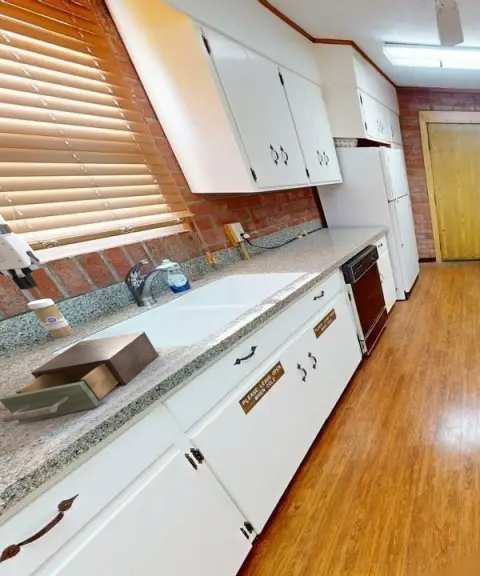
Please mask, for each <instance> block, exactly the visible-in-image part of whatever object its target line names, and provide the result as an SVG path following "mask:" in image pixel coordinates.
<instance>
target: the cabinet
mask: <svg viewBox="0 0 480 576" xmlns="http://www.w3.org/2000/svg"><path fill="white" fill-rule="evenodd" d="M158 358H159V353H158V352H157V350H156V348H155V346H154V345H153V344H152V342H151V340H150V339H149V336H148V335H147V333H146V332H145V331H140V332H134V333H127V334H121V335H120V334H119V335H115V336H114V335H113V336H107V337H101V338H100V337H99V338H95V339H94V338H93V339H88V340H81V341H79V342H77V343H75V344H74V345H72V346H70V347H69V348H67V349H66V350H64V351H63V352H61V353H59V354H58V355H56V356H54V357H53V358H51V359H50V360H48V361H47V362H45V363H44V364H42V365H41V366H39V367H37V368H35V369H34V370H32V371H31V372H30V374H31V375H32V376H33V377H34V378H35V379H36V378H38V377H39V376H41V375H42V374H44V373H48V372H54V371H59V370H65V369H71V368H76V367H82V366H88V365H93V364H99V363H105V362H107V364H108V365H109V367H110V368H111V369H112V371H113V372H114V374H115V375H116V377H117V378H118V380H119V381H120V382H119V383H118V384H117V385H116V386H115V387H114V388H119V387H123V386H127V385H128V384H129V383H130V382H131V381H133V380H134V379H135V378H136V377H137V376H138V375H139V374H140V373H141V372H143V371H144V370H145V369H146V368H148V366H149V365H150V364H152V363H153V362H154V361H155V360H156V359H158Z"/></svg>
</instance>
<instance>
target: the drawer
mask: <svg viewBox="0 0 480 576" xmlns="http://www.w3.org/2000/svg"><path fill="white" fill-rule="evenodd" d="M119 382H120V381H119V380H118V378H117V377H116V375H115V374H114V372H113V371H112V369H111V368H110V367H109V365H108V364H107V362H105V363H99V364H93V365H88V366H82V367H76V368H71V369H65V370H59V371H54V372H48V373H44V374H42V375H41V376H39V377H38V378H35V379H33V380H31V381H30V382H28V383H27V384H26V385H24V386H23V387H21V388H19V389H18V390H16V391H15V393H14V394H8V395H4V396H2V397H1V398H0V403H1V405H3V406H4V407H5V408H6V410H8V411H9V412H10V414H6V415H4V416H3V417H2V418H1V421H2V422H3V423H10V422H15V421H18V422H19V423H20V424H24V423H28V422H32V421H33V422H34V421H37V420H43V419H47V418H51V417H56V416H60V415H65V414H70V413H74V412H80V411H85V410H88V409H94V408H98V407H99V405H101V402H100V400H102V399H103V398H104V397H105V396H106V395H107V394H109V392H110V391H111V390H113V389H114V388H116V387H115V386H116V385H117V384H118V383H119Z"/></svg>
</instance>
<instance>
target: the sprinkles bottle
mask: <svg viewBox="0 0 480 576" xmlns="http://www.w3.org/2000/svg"><path fill="white" fill-rule="evenodd" d="M27 306H28V308H29V310H31V311H33V313H34V314H35V315H36V317H37V318H38V319H39V320H40V322H41V323H42V325H43V327H45V328H46V330H47V331H48V332H49V333H50V334H51V336H52V339H58V338H63V337H67V336H70V335H73V334H75V331H76V330H74V329H73V328H72V326H71V325H70V323H69V322H68V320H67V319H66V317H64V315H63V314H62V313H61V311H60V310H59V309H58V307H57V306H56V304H55V302H54V300H53V299H52V298H43V299H38V300H37V299H36V300H33V301H30V302H28V303H27Z"/></svg>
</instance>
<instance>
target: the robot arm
mask: <svg viewBox="0 0 480 576" xmlns="http://www.w3.org/2000/svg"><path fill="white" fill-rule="evenodd" d="M42 268H43V265H42V264H41V260H40V257H39V256H38V255H37V253H36V251H35V250H34V249H33V248H32V247H31V246H30V245H29V244H28V242H26V241H25V240H24V239H23V238H22V237H21V236H20V235H19V234H18V233H14V232H13V229H11V227H10V225H9V224H8V223H7V222H6V219H4V217H3V216H2V214H0V275H2V276H5V277H6V278H7V279H11V280H12V281H13V283H14V284H15V286H16V287H18V289H19V290H21V291H23V290H30V289H33V288H36V287H38V284H37V281H35V279H34V278H33V276H32V275H33V272H34V271H37V270H39V269H42Z"/></svg>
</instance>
